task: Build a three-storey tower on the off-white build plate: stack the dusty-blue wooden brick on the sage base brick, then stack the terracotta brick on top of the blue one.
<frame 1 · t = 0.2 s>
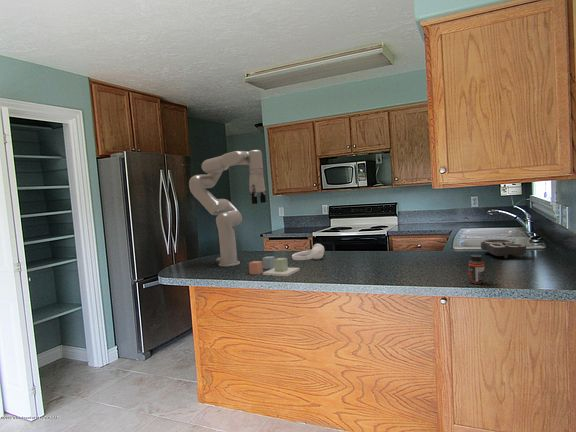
hand: (259, 203, 226), 36 cm above the worktop, fingers open, 9 cm apart
supplement bottle: (476, 283, 165), on the worktop
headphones: (308, 258, 246), on the worktop
build plate: (281, 272, 210), on the worktop
motorcycle dashboard: (501, 256, 214), on the worktop
brick mid: (269, 268, 224), on the worktop
brick top: (256, 273, 213), on the worktop
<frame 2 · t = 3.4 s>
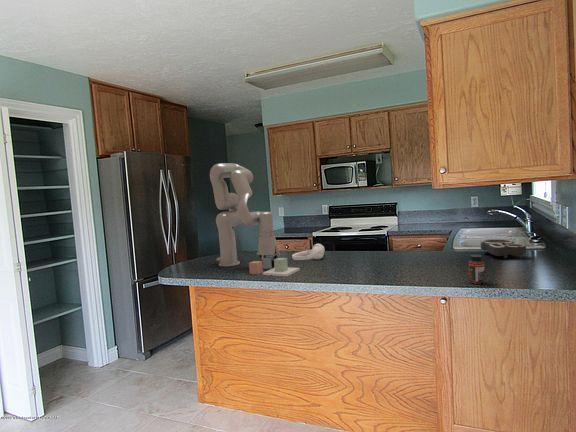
hand: (269, 266, 224), 1 cm above the worktop, fingers closed on brick mid, 5 cm apart
brick mid: (269, 267, 224), on the worktop, touching gripper
everything else where it was.
when the fingers open (9 cm above the worktop, at t = 7.5 s): brick mid drops 1 cm, resting on build plate.
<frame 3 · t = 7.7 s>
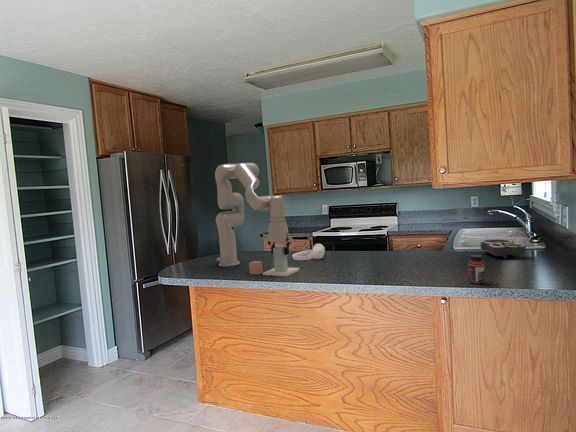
hand: (280, 254, 209), 10 cm above the worktop, fingers open, 7 cm apart
brick mid: (280, 258, 209), point 7 cm above the worktop, touching build plate
everything else where it was.
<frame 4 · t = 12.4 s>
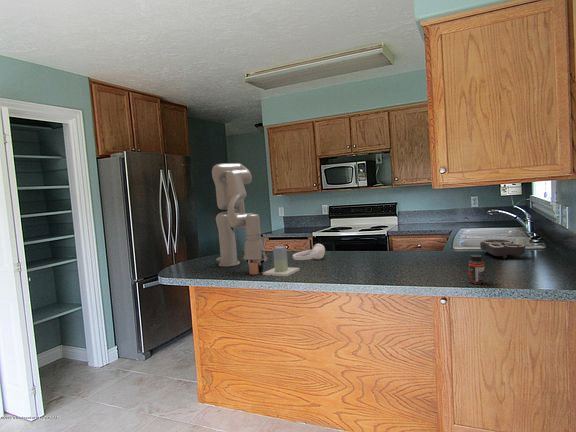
hand: (256, 271, 213), 1 cm above the worktop, fingers closed on brick top, 5 cm apart
brick top: (256, 273, 213), on the worktop, touching gripper
everything else where it was.
when the fingers open (16 cm above the worktop, at t = 17.5 s): brick top drops 2 cm, resting on brick mid.
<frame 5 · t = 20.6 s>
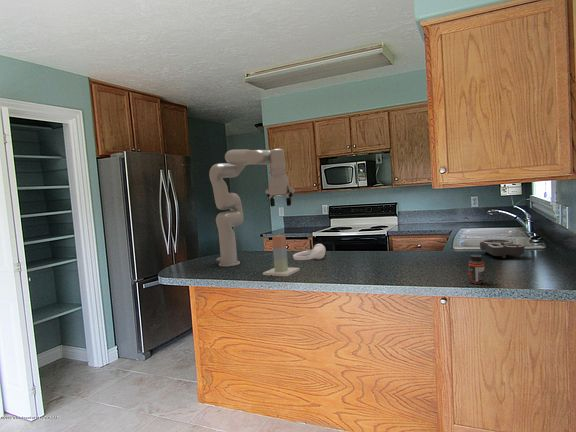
hand: (280, 206, 211), 34 cm above the worktop, fingers open, 9 cm apart
brick mid: (280, 258, 209), point 7 cm above the worktop, touching brick top, build plate
brick top: (279, 247, 209), point 13 cm above the worktop, touching brick mid
everything else where it was.
at the end: brick mid 0.1 cm off-centre on the build plate, point 7.2 cm above the build plate's base; brick top 0.1 cm off-centre on the brick mid, point 6.0 cm above the brick mid's base; brick top tilted 0° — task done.
